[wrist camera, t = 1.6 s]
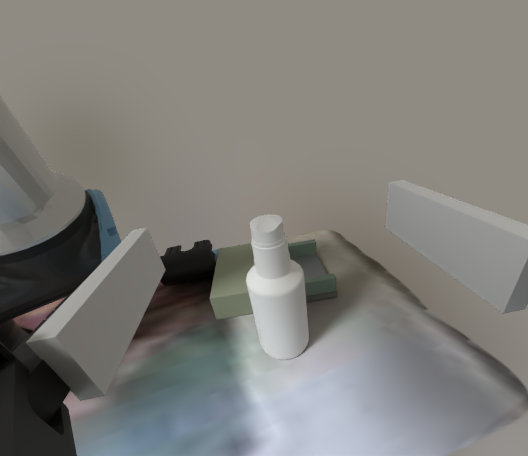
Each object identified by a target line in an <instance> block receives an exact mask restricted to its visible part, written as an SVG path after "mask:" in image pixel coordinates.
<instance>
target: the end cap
mask: <svg viewBox="0 0 528 456" xmlns="http://www.w3.org/2000/svg"><path fill="white" fill-rule="evenodd" d="M180 250H181V245H180V246H176V247H170V248H168V249H167V250H166V253H165V255H164V256H160V258H161V260H162V263H163V265H164V267H165V272H164V274H163V276H162V278H161V280H160V281H161V283H162V284H163V285H165V286H167V285H169V286H170V285H174V284H179V283H183V282H188V281H192V280H196V279H201V278H205V277H210V276H214V272H215V267H216V261H215V253H213V252H212V244H211V243H210V241H209V240H203V241H200V242H195V244H194V247H193V248H192V249H190V250H188V251H180Z"/></svg>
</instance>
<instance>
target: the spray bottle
mask: <svg viewBox="0 0 528 456" xmlns="http://www.w3.org/2000/svg"><path fill="white" fill-rule="evenodd" d="M250 229H251V234H252V241H251V245H252V250H253V255H254V264H255V265H254V266H253V267H252V268H251V269H250V270H249V272H248V273H247V277H246V284H247V288H248V292H249V297H250V301H251V305H252V309H253V314H254V318H255V322H256V326H257V331H258V335H259V339H260V343H261V346H262V348H263V349H264V351H265V352H266V353H267V354H269V355H270V356H271V357H273V358H276V359H279V360H289V359H292V358H295V357H297V356H298V355H300V354H301V353H302V352H303V351H304V349H305V348H306V346H307V344H308V341H309V331H308V318H307V306H306V293H305V281H304V271H303V269H302V268H301V266H300V265H299V264H298V263H296V262H295V261H293V260H291V259H290V253H289V251H288V242H287V236H286V235H285V232H284V226H283V219H282V218H281V217H280V216H278V215H274V214H269V215H262V216H259V217H256V218H255V219H253V220H252V221H251V222H250Z"/></svg>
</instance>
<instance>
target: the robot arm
mask: <svg viewBox="0 0 528 456" xmlns="http://www.w3.org/2000/svg"><path fill="white" fill-rule="evenodd" d="M385 228H386V229H388V230H389V231H390V232H392V233H393V234H394V235H396V236H397V237H398V238H400V239H401V240H403V241H404V242H405V243H407V244H408V245H410V246H411V247H412V248H414V249H415V250H417V251H418V252H419V253H421V254H422V255H423V256H425V257H426V258H427V259H429V260H430V261H431V262H433V263H434V264H436V265H437V266H438V267H440V268H441V269H443V270H444V271H445V272H447V273H448V274H449V275H451V276H452V277H454V278H455V279H456V280H458V281H459V282H461V283H462V284H463V285H464V286H466V287H467V288H469V289H470V290H471V291H473V292H474V293H475V294H477V295H478V296H480V297H481V298H483V299H484V300H485V301H486V302H488V303H489V304H491V305H492V306H493V307H495V308H496V309H498V310H499V311H501V312H502V313H508V312H513V311H518V310H523V309H525V308H526V306H527V304H528V225H526V224H524V223H521V222H518V221H515V220H512V219H510V218H507V217H504V216H501V215H499V214H496V213H493V212H490V211H487V210H485V209H482V208H479V207H476V206H474V205H471V204H468V203H465V202H463V201H460V200H457V199H454V198H451V197H448V196H446V195H443V194H440V193H437V192H435V191H432V190H429V189H426V188H424V187H421V186H418V185H415V184H413V183H410V182H407V181H404V180H400V181H395V182H389V188H388V198H387V209H386V220H385ZM164 272H165V267H164V265H163V263H162V260H161V258H160V256H159V253H158V251H157V249H156V247H155V244H154V242H153V240H152V237H151V235H150V233H149V230H148V228H142V229H137V230H132V232H131V233H130V234H129V235H128V236H127V237H126V238H125V239H124V240H123V241H122V242H121V240H120V237H119V234H118V232H117V230H116V226H115V223H114V220H113V217H112V214H111V212H110V209H109V207H108V204H107V202H106V199H105V197H104V195H103V193H102V192H101V191H100V190H91V189H87V190H84V189H83V187H82V186H81V184H80V183H79V182H78V181H77V180H76V179H74V178H73V177H71V176H69V175H66V174H63V173H60V172H55V171H52V170H51V169H50V167H49V166H48V165H47V163H46V161H45V160H44V158H43V157H42V156H41V154H40V153H39V151H38V150H37V148H36V147H35V145H34V144H33V143H32V141H31V140H30V138H29V137H28V135H27V134H26V132H25V131H24V129H23V128H22V127H21V125H20V124H19V122H18V121H17V119H16V118H15V117H14V115H13V114H12V112H11V111H10V109H9V108H8V106H7V105H6V103H5V102H4V100H3V99H2V98H1V96H0V456H77V455H76V449H75V444H74V438H73V432H72V427H71V421H70V416H69V410H68V408H67V407H66V405H65V404H64V403H63V401H64V399H65V397H66V396H67V394H68V393H69V391H70V390H71V391H72V392H73V393H74V394H75V395H76V396H77V398H78V399H79V400H80V401H81V400H86V399H91V398H96V397H101V396H105V394H106V392H107V390H108V388H109V386H110V384H111V382H112V380H113V378H114V376H115V374H116V372H117V370H118V367H119V365H120V363H121V361H122V359H123V357H124V355H125V353H126V351H127V349H128V347H129V345H130V343H131V340H132V338H133V336H134V334H135V332H136V330H137V328H138V326H139V324H140V322H141V320H142V318H143V316H144V313H145V311H146V309H147V307H148V305H149V303H150V301H151V299H152V297H153V295H154V293H155V291H156V288H157V286H158V284H159V282H160V280H161V278H162V276H163V274H164ZM66 296H67V297H66ZM64 297H66V298H65V299H64V300H63V301H62V302H61V303H60V304H59V305H58V306H57V307H56V308H55V311H52V312H51V313H50V314H49V315H48V316H47V317H46V320H43V321H42V322H41V323H40V324H39V325H38V327H37V328H36V329H35V330H33V329H30V328H28V327H26V326H23V325H21V324H18V323H17V322H15V321H14V320H13V318H15V317H18V316H20V315H23V314H25V313H27V312H30V311H32V310H35V309H37V308H40V307H42V306H44V305H47V304H49V303H52V302H54V301H57V300H59V299H61V298H64Z"/></svg>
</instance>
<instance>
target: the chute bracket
mask: <svg viewBox="0 0 528 456" xmlns="http://www.w3.org/2000/svg"><path fill="white" fill-rule="evenodd" d="M288 251H289V253H290V259H291V260H293V261H295V262H296V263H298V264H299V265H300V266H301V268H302V269H303V271H304V281H305V293H306V302H310V301H316V300H322V299H328V298H334V297H337V292H336V277H335V275H334V274H330V275H327V273H326V271H325V269H324V267H323V265H322V263H321V261H320V259H319V257H318V255H317V254H316V241H315V240H310V241H304V242H298V243H292V244H288ZM254 265H255V264H254V255H253V250H252V245H251V243H250V244H245V245H238V246H232V247H226V248H220V249H219V251H218V256H217V262H216V267H215V272H214V278H213V283H212V289H211V294H210V301H211V304H212V307H213V310H214V313H215V316H216V319H217V320H218V319H224V318H230V317H235V316H241V315H247V314H253V309H252V305H251V301H250V297H249V292H248V288H247V284H246V277H247V273H248V272H249V270H250V269H251V268H252V267H253V266H254Z"/></svg>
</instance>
